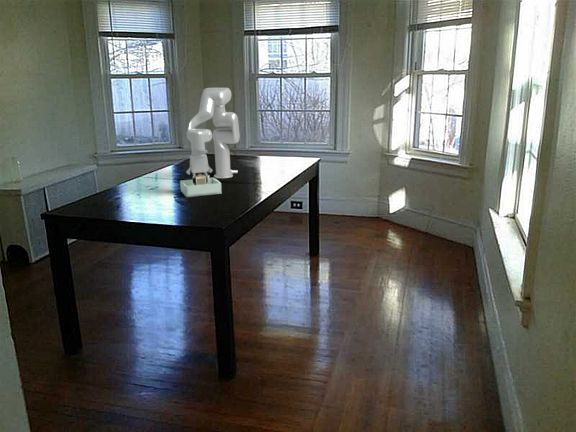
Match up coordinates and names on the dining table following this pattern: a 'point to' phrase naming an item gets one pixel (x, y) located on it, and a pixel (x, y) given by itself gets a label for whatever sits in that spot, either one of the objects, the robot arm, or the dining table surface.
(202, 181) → the drawer
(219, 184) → the bin
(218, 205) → the dining table surface
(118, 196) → the dining table surface
